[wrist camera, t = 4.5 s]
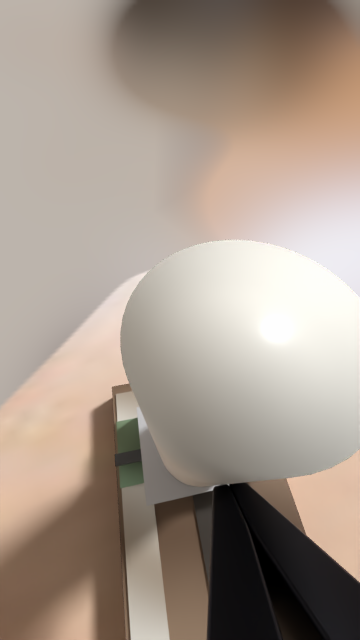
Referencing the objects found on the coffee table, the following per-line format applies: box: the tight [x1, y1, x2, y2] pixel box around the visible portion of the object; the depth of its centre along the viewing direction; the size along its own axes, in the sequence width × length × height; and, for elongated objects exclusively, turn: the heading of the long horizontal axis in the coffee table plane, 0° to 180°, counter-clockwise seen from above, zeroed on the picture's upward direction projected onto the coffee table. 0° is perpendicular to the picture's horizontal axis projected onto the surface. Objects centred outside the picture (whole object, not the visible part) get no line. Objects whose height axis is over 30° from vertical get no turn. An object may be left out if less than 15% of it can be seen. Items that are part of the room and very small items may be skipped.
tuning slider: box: [115, 240, 360, 506], centre depth 8 cm, size 4×6×11 cm, turn 101°
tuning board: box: [112, 384, 306, 640], centre depth 12 cm, size 16×8×2 cm, turn 11°
